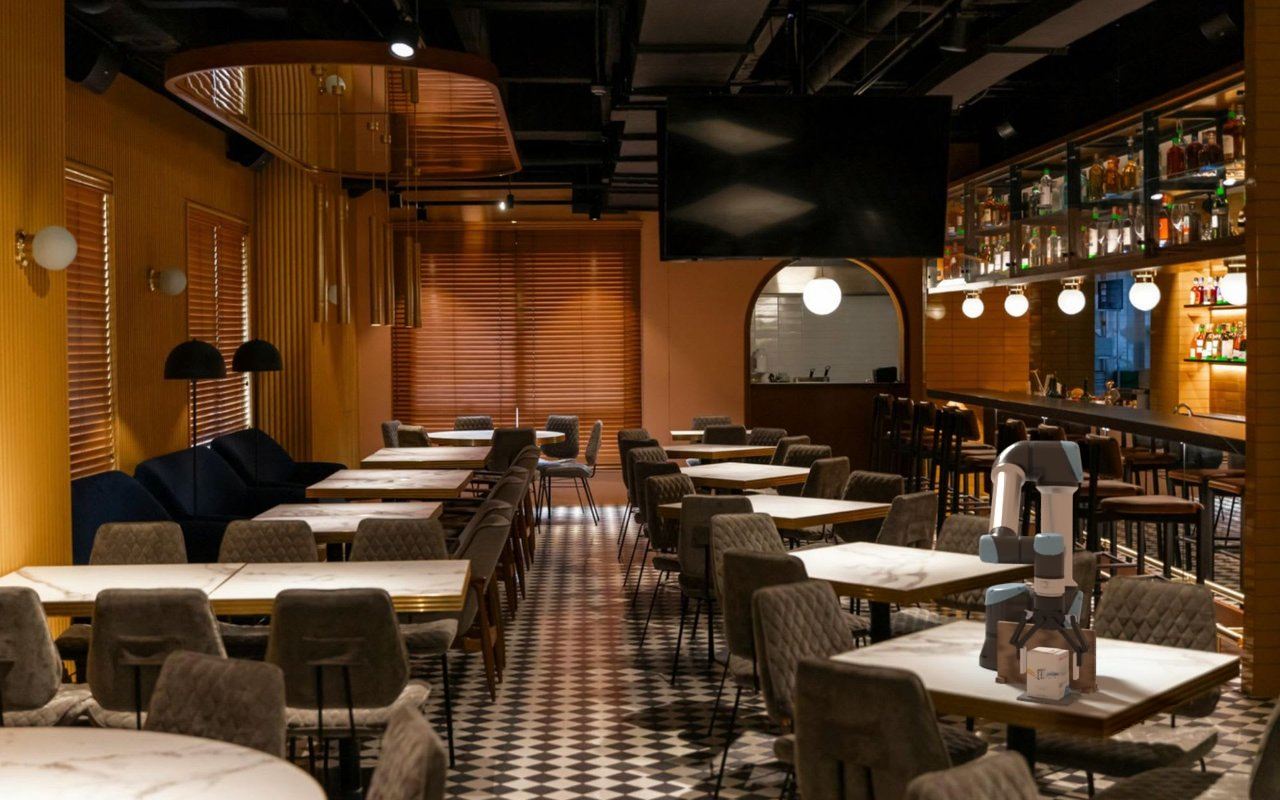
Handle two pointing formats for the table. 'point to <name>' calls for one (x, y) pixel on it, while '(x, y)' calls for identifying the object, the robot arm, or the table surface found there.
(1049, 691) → the ink box
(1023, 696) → the rubber mat
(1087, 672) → the walnut screen
